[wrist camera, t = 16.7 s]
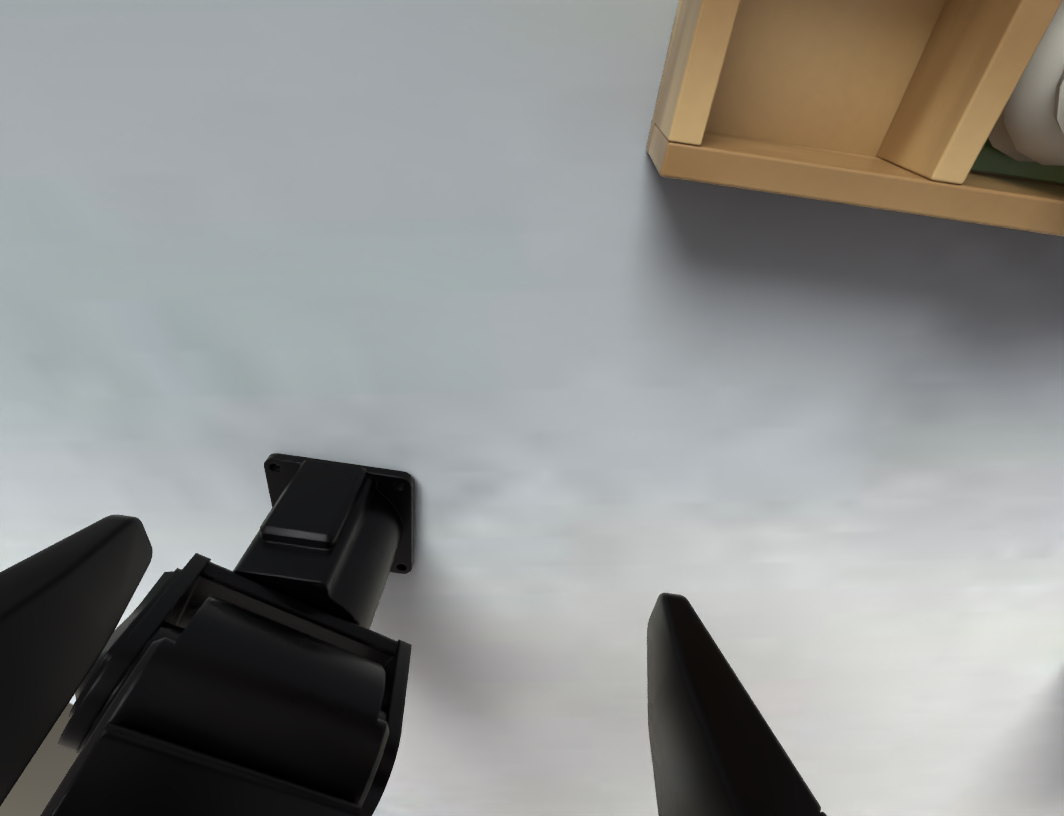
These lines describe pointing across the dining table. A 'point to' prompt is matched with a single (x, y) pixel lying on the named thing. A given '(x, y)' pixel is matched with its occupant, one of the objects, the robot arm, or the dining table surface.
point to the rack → (857, 105)
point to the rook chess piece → (1037, 104)
